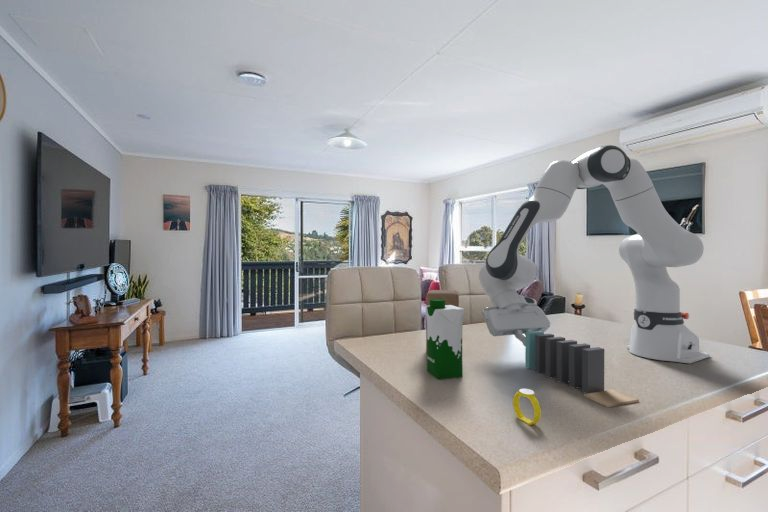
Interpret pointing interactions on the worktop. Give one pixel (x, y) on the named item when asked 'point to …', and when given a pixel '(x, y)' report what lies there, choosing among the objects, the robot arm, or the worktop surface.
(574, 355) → the domino
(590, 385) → the domino
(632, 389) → the worktop surface
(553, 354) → the domino
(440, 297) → the block
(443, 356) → the milk carton
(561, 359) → the domino
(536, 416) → the watch
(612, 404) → the coaster
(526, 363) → the domino
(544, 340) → the domino
